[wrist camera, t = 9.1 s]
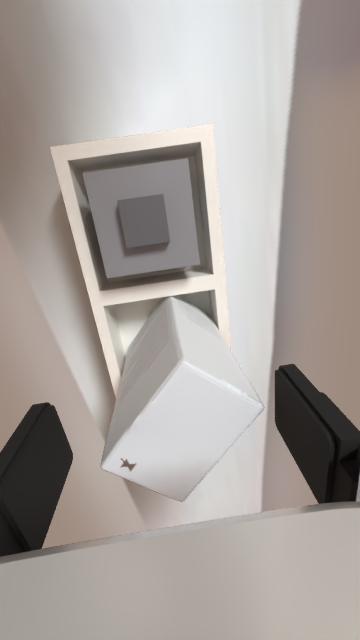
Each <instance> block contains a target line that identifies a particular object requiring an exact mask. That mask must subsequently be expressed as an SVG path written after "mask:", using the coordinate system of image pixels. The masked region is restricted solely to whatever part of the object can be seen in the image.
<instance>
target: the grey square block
mask: <svg viewBox="0 0 360 640" xmlns="http://www.w3.org/2000/svg"><path fill="white" fill-rule="evenodd" d="M83 178H84V182H85V186H86V190H87V195H88V199H89V203H90V208H91V212H92V216H93V220H94V225H95V229H96V233H97V238H98V242H99V246H100V251H101V255H102V259H103V263H104V268H105V272H106V276H107V278H113V277H120V276H126V275H133V274H140V273H146V272H153V271H160V270H166V269H173V268H180V267H186V266H193V265H199V264H200V260H199V251H198V242H197V233H196V224H195V215H194V206H193V197H192V188H191V179H190V171H189V162H188V158H185V159H178V160H171V161H164V162H157V163H150V164H143V165H136V166H129V167H122V168H115V169H108V170H101V171H94V172H87V173H83Z"/></svg>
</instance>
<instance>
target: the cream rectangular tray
mask: <svg viewBox="0 0 360 640" xmlns="http://www.w3.org/2000/svg"><path fill="white" fill-rule="evenodd" d="M50 150H51V154H52V158H53V161H54V165H55V169H56V173H57V177H58V180H59V184H60V188H61V192H62V196H63V199H64V203H65V207H66V211H67V215H68V218H69V222H70V226H71V230H72V234H73V238H74V241H75V245H76V249H77V253H78V257H79V260H80V264H81V268H82V272H83V276H84V279H85V283H86V287H87V291H88V295H89V298H90V302H91V306H92V310H93V314H94V318H95V321H96V325H97V329H98V333H99V337H100V340H101V344H102V348H103V352H104V356H105V359H106V363H107V367H108V371H109V375H110V378H111V382H112V386H113V390H114V394H115V398H117V394H118V390H119V386H120V382H121V378H122V373H123V369H124V365H125V360H126V357H127V353H128V348H129V345H130V344H131V342H132V341H133V339H134V338H135V336H136V335H137V333H138V332H139V330H140V329H141V327H142V326H143V325H144V323H145V322H146V320H147V319H148V317H149V316H150V314H151V313H152V311H153V310H154V308H155V307H156V305H157V304H158V302H159V301H160V299H161V298H162V297H167V296H174V295H181V296H182V297H184V298H185V299H187V300H188V301H190V302H191V303H193V304H194V305H195V306H197V307H198V308H200V309H201V310H203V311H205V312H206V313H208V314H209V315H210V316H211V318H212V320H213V321H214V323H215V325H216V326H217V328H218V330H219V331H220V333H221V335H222V336H223V338H224V340H225V341H226V343H227V345H228V346H229V348H230V350H231V341H230V329H229V316H228V304H227V292H226V279H225V267H224V255H223V242H222V230H221V218H220V205H219V193H218V181H217V168H216V156H215V144H214V131H213V124H209V125H202V126H194V127H187V128H180V129H173V130H166V131H159V132H152V133H145V134H138V135H131V136H124V137H117V138H110V139H102V140H95V141H88V142H81V143H74V144H67V145H60V146H53V147H50ZM185 158H188V162H189V171H190V179H191V188H192V197H193V206H194V215H195V224H196V233H197V242H198V251H199V260H200V264H199V265H193V266H186V267H180V268H173V269H166V270H160V271H153V272H146V273H140V274H133V275H126V276H120V277H113V278H107V276H106V272H105V268H104V263H103V259H102V255H101V251H100V246H99V242H98V238H97V233H96V229H95V225H94V220H93V216H92V212H91V208H90V203H89V199H88V195H87V190H86V186H85V182H84V178H83V173H87V172H94V171H101V170H108V169H115V168H122V167H129V166H136V165H143V164H150V163H157V162H164V161H171V160H178V159H185Z"/></svg>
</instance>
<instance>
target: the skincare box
mask: <svg viewBox="0 0 360 640" xmlns="http://www.w3.org/2000/svg"><path fill="white" fill-rule="evenodd" d="M263 410H264V405H263V403H262V401H261V400H260V398H259V396H258V394H257V393H256V391H255V389H254V388H253V386H252V384H251V383H250V381H249V379H248V378H247V376H246V375H245V373H244V371H243V369H242V368H241V366H240V365H239V363H238V361H237V360H236V358H235V356H234V355H233V353H232V351H231V350H230V348H229V346H228V345H227V343H226V341H225V340H224V338H223V336H222V335H221V333H220V331H219V330H218V328H217V326H216V325H215V323H214V321H213V320H212V318H211V316H210V315H209V314H208V313H206V312H205V311H203V310H201V309H200V308H198V307H197V306H195V305H194V304H193V303H191V302H190V301H188V300H187V299H185V298H184V297H182V296H181V295H174V296H167V297H162V298H161V299H160V301H159V302H158V304H157V305H156V307H155V308H154V310H153V311H152V313H151V314H150V316H149V317H148V319H147V320H146V322H145V323H144V325H143V326H142V327H141V329H140V330H139V332H138V333H137V335H136V336H135V338H134V339H133V341H132V342H131V344H130V345H129V348H128V353H127V357H126V360H125V365H124V369H123V373H122V378H121V382H120V386H119V390H118V394H117V398H116V402H115V406H114V410H113V415H112V419H111V423H110V427H109V430H108V434H107V438H106V443H105V447H104V452H103V456H102V461H101V469H103V470H105V471H107V472H110V473H112V474H114V475H117V476H119V477H122V478H124V479H127V480H129V481H131V482H134V483H136V484H138V485H141V486H143V487H145V488H148V489H150V490H153V491H155V492H157V493H160V494H162V495H164V496H167V497H169V498H172V499H175V500H178V501H181V502H183V501H184V500H185V499H186V498H187V497H188V496H189V494H190V493H191V492H192V491H193V490H194V488H195V487H196V486H197V485H198V484H199V483H200V482H201V480H202V479H203V478H204V477H205V476H206V475H207V473H208V472H209V471H210V470H211V469H212V468H213V467H214V465H215V464H216V463H217V462H218V461H219V460H220V459H221V457H222V456H223V455H224V454H225V453H226V452H227V451H228V449H229V448H230V447H231V446H232V445H233V444H234V442H235V441H236V440H237V439H238V438H239V437H240V436H241V434H242V433H243V432H244V431H245V430H246V429H247V428H248V426H249V425H250V424H251V423H252V422H253V421H254V420H255V418H256V417H257V416H258V415H259V414H260V413H261V412H262V411H263Z"/></svg>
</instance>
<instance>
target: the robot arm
mask: <svg viewBox="0 0 360 640" xmlns="http://www.w3.org/2000/svg"><path fill="white" fill-rule="evenodd" d="M275 423H276V426H277V429H278V431H279V432H280V434H281V436H282V438H283V440H284V442H285V443H286V445H287V447H288V449H289V451H290V452H291V454H292V456H293V458H294V460H295V461H296V463H297V465H298V467H299V469H300V471H301V472H302V474H303V476H304V478H305V480H306V481H307V483H308V485H309V487H310V489H311V490H312V492H313V494H314V496H315V498H316V499H317V501H318V503H319V504H315V505H308V506H301V507H294V508H287V509H280V510H273V511H267V512H260V513H254V514H248V515H241V516H235V517H229V518H223V519H216V520H210V521H204V522H198V523H192V524H186V525H180V526H173V527H167V528H161V529H155V530H149V531H143V532H137V533H131V534H125V535H119V536H114V537H108V538H102V539H96V540H90V541H84V542H79V543H73V544H67V545H61V546H55V547H50V548H44V549H42V546H43V543H44V540H45V537H46V534H47V532H48V529H49V526H50V523H51V520H52V518H53V515H54V511H55V509H56V506H57V503H58V500H59V498H60V495H61V492H62V489H63V486H64V484H65V481H66V478H67V475H68V472H69V469H70V467H71V464H72V460H73V453H72V450H71V448H70V445H69V442H68V440H67V437H66V434H65V432H64V429H63V427H62V424H61V422H60V419H59V416H58V414H57V411H56V409H55V407H54V406H53V405H50V404H49V403H41V404H34V405H32V406H31V408H30V409H29V411H28V412H27V414H26V415H25V417H24V418H23V420H22V421H21V423H20V424H19V426H18V427H17V429H16V430H15V432H14V433H13V435H12V436H11V437H10V439H9V440H8V442H7V444H6V445H5V446H4V448H3V450H2V451H1V452H0V640H360V431H359V430H358V429H357V428H356V427H355V426H354V425H353V424H352V423H351V421H350V420H348V418H347V417H346V416H345V415H344V414H343V413H342V412H341V411H340V410H339V408H338V407H337V406H336V405H335V404H334V403H333V402H332V401H331V400H330V399H329V398H328V397H327V395H325V394H324V393H321V392H319V391H318V390H317V389H316V388H315V387H314V385H312V383H311V382H310V381H309V380H308V379H307V378H306V377H305V375H304V374H303V373H302V372H301V371H300V370H299V369H298V368H297V367H296V366H295V365H294V364H289V365H283V366H279V370H276V371H275Z"/></svg>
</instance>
